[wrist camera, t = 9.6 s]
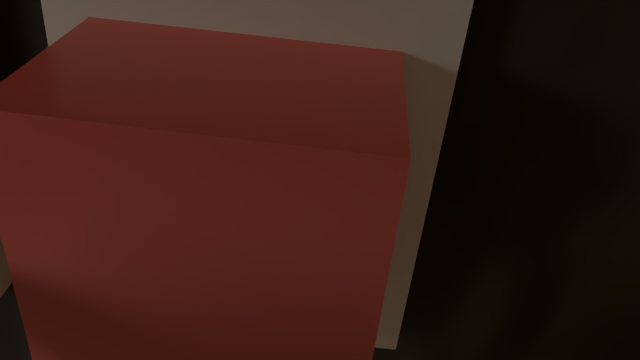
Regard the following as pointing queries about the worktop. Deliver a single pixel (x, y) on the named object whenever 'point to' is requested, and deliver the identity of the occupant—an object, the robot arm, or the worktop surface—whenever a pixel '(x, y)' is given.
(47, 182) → the red cuboid block
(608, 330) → the worktop surface
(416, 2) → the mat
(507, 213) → the worktop surface
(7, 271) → the post stand
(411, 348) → the worktop surface
